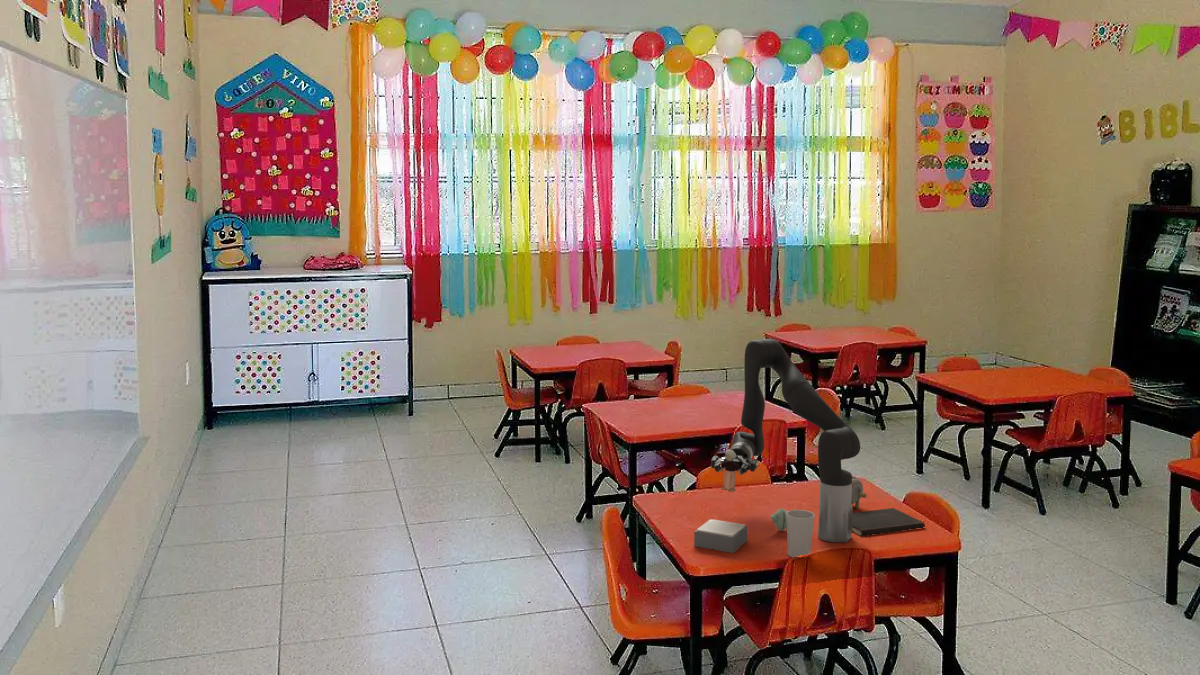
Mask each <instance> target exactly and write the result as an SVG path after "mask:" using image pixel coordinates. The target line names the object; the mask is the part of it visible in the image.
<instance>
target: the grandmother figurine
mask: <svg viewBox="0 0 1200 675" xmlns="http://www.w3.org/2000/svg"><path fill="white" fill-rule="evenodd" d="M724 455H726V459H727V460H726V461H724V462H723V464H722V465H721V469H720V471H719V472H721V473H722V472H723V471H724V479H723V486H722V487H721V488H720V490H721V491H727V492H730V493H733V492H734V493H735V491H736V488H735V487H736V472H737V473H738V474H737V475H738V476H741V475H743V474H741V470H740V469H741V468H740V467H739V466H738V464H736V463H735V462H734V461H733V460H734V458H735V457H737V456H736V454H735V452H734V451H733V450H729V449H726V451H725V454H724ZM724 468H725V469H724ZM735 470H737V471H735Z"/></svg>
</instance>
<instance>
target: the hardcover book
mask: <svg viewBox="0 0 1200 675" xmlns="http://www.w3.org/2000/svg"><path fill="white" fill-rule="evenodd" d="M923 527H925V528H926V524H925V522H924V521H921V520H919V519H917V518H916V517H913V516H911V515H910V514H907V513H905V512H903V511H901V510H899V509H897V508H895V507H891V508H890V507H889V508H883V509H873V510H866V511H865V510H864V511H857V512H855V511H854V512H853V513H852V532H853V533H855V534H857V535H858V536H860V535H861V536H860V537H868V536H867V535H869V536H873V535H872V534H877V535H881V534H880V533H885V534H889V533H888V532H893V533H896V532H895V531H900V532H903V531H902V530H908V531H910V530H909V529H916V528H923ZM916 530H917V529H916Z"/></svg>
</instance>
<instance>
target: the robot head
mask: <svg viewBox="0 0 1200 675" xmlns="http://www.w3.org/2000/svg"><path fill="white" fill-rule="evenodd" d="M787 512H788V510H786V509H784V508H778V509H777V510H776V511H775V512H774V513H773V514H771V515H770V519H771V521H772V523H774V525H775V527H776V528H777V530H779V531H785V530H787V518H786V513H787Z"/></svg>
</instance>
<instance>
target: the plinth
mask: <svg viewBox="0 0 1200 675" xmlns="http://www.w3.org/2000/svg"><path fill="white" fill-rule="evenodd" d="M693 536H694V538H693V539H694V540H693V546H694V547H697V548H701V549H702V548H703V549H707V550H708V549H709V550H712V549H714V550H713V551H718V550H719V552H724V553H731V554H734V553H735V552H736V551H738V549H740V548H741V547H742V546H743V545H744V544H745V543H747V541H748V525H746V524H743V523H737V522H730V521H723V520H720V519H719V520H718V519H711V518H710V519H708V521H706V522H704V523H703V524H702V525H701V526H699V527H698V528H697V529H696V530H694V535H693ZM740 546H741V547H740Z"/></svg>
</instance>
